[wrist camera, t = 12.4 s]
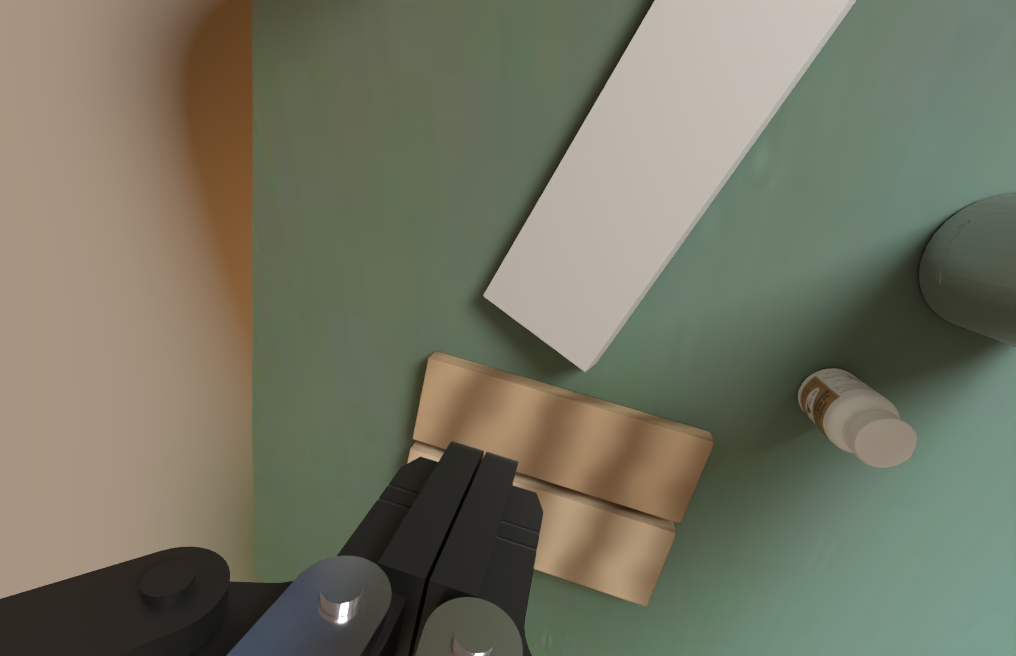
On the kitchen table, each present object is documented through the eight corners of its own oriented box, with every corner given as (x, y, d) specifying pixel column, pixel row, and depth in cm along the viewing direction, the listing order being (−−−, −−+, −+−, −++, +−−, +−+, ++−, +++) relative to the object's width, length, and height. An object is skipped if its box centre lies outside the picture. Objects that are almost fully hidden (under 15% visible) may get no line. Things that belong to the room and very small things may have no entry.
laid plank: (709, 431, 39) (714, 442, 37) (675, 513, 41) (678, 527, 40) (435, 351, 41) (428, 357, 40) (419, 433, 44) (411, 442, 42)
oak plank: (672, 520, 41) (676, 533, 40) (644, 591, 44) (646, 606, 42) (417, 439, 44) (410, 448, 42) (402, 510, 46) (395, 522, 44)
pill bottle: (791, 373, 36) (840, 419, 29) (855, 361, 35) (923, 405, 28) (800, 424, 37) (850, 480, 30) (863, 413, 36) (930, 469, 29)
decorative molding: (507, 292, 42) (599, 360, 39) (482, 295, 37) (585, 372, 35) (767, -141, 31) (920, -87, 28) (775, -208, 26) (958, -152, 24)
